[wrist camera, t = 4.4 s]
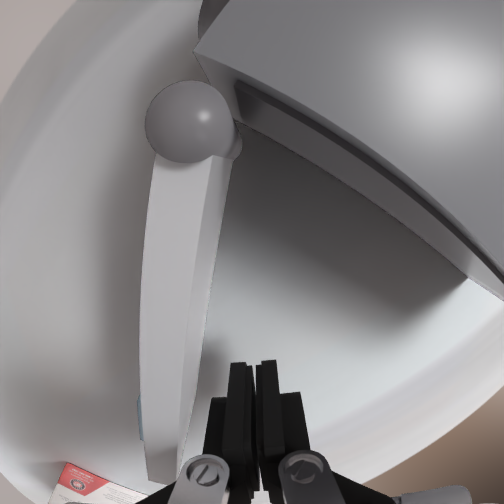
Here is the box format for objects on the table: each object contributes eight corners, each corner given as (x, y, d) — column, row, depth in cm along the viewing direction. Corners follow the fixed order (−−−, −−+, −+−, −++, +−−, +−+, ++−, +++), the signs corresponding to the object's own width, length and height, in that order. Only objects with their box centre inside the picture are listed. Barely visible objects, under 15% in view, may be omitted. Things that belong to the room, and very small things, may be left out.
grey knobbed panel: (298, -43, 8) (327, -157, 1) (527, 143, 10) (630, 156, 3) (191, 102, 10) (96, 18, 3) (467, 280, 13) (568, 356, 5)
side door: (246, 129, 10) (238, 85, 4) (201, 390, 13) (180, 494, 7) (193, 121, 10) (128, 76, 4) (162, 381, 13) (127, 481, 7)
